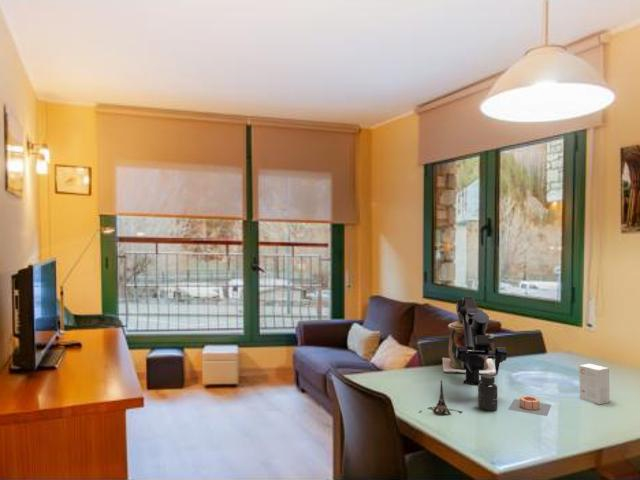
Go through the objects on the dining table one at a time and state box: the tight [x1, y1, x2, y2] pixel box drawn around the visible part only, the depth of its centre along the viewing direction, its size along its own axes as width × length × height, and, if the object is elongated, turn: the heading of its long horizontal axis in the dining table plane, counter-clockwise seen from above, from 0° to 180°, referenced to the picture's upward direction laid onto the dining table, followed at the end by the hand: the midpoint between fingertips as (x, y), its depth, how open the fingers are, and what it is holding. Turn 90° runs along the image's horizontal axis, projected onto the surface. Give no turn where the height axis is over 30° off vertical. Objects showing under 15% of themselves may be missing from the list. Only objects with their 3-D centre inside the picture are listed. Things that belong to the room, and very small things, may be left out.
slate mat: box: [507, 398, 552, 417], centre depth 176 cm, size 13×13×1 cm
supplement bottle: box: [477, 374, 499, 413], centre depth 175 cm, size 7×7×12 cm
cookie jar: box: [442, 311, 497, 376], centre depth 231 cm, size 25×25×32 cm
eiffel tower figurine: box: [418, 377, 464, 417], centre depth 172 cm, size 15×10×13 cm
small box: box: [579, 363, 611, 405], centre depth 183 cm, size 8×6×13 cm
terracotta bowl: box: [519, 395, 541, 410], centre depth 176 cm, size 7×7×3 cm
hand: (484, 373), depth 181 cm, fingers open, 9 cm apart
